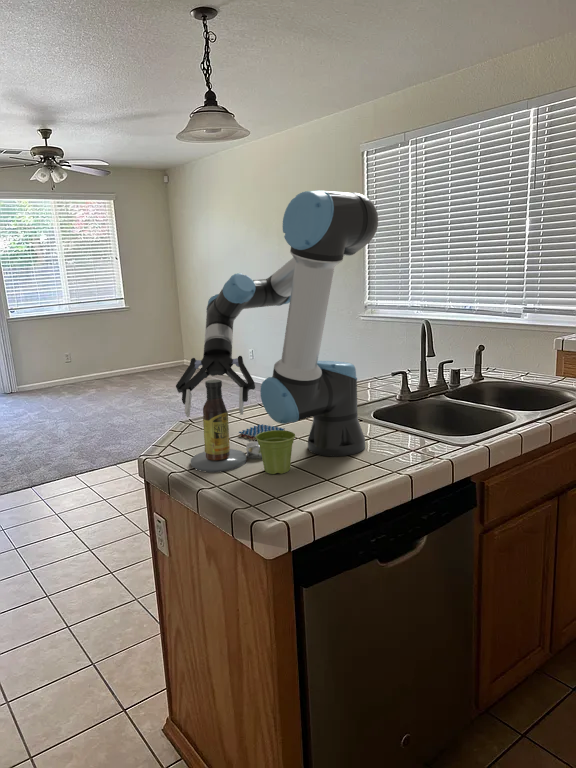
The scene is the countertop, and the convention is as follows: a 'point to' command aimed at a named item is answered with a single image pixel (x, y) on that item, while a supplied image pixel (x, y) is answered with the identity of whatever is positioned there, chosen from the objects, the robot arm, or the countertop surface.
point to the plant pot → (276, 450)
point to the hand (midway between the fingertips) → (214, 413)
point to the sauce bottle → (215, 423)
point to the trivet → (219, 462)
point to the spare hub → (253, 450)
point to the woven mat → (257, 431)
